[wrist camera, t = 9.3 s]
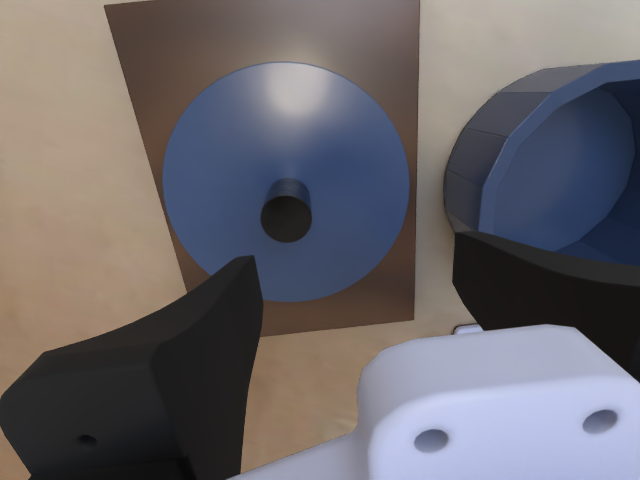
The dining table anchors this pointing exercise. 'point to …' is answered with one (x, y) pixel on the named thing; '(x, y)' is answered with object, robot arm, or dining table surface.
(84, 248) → the dining table surface
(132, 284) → the dining table surface
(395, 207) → the lid
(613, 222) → the tin
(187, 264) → the board
